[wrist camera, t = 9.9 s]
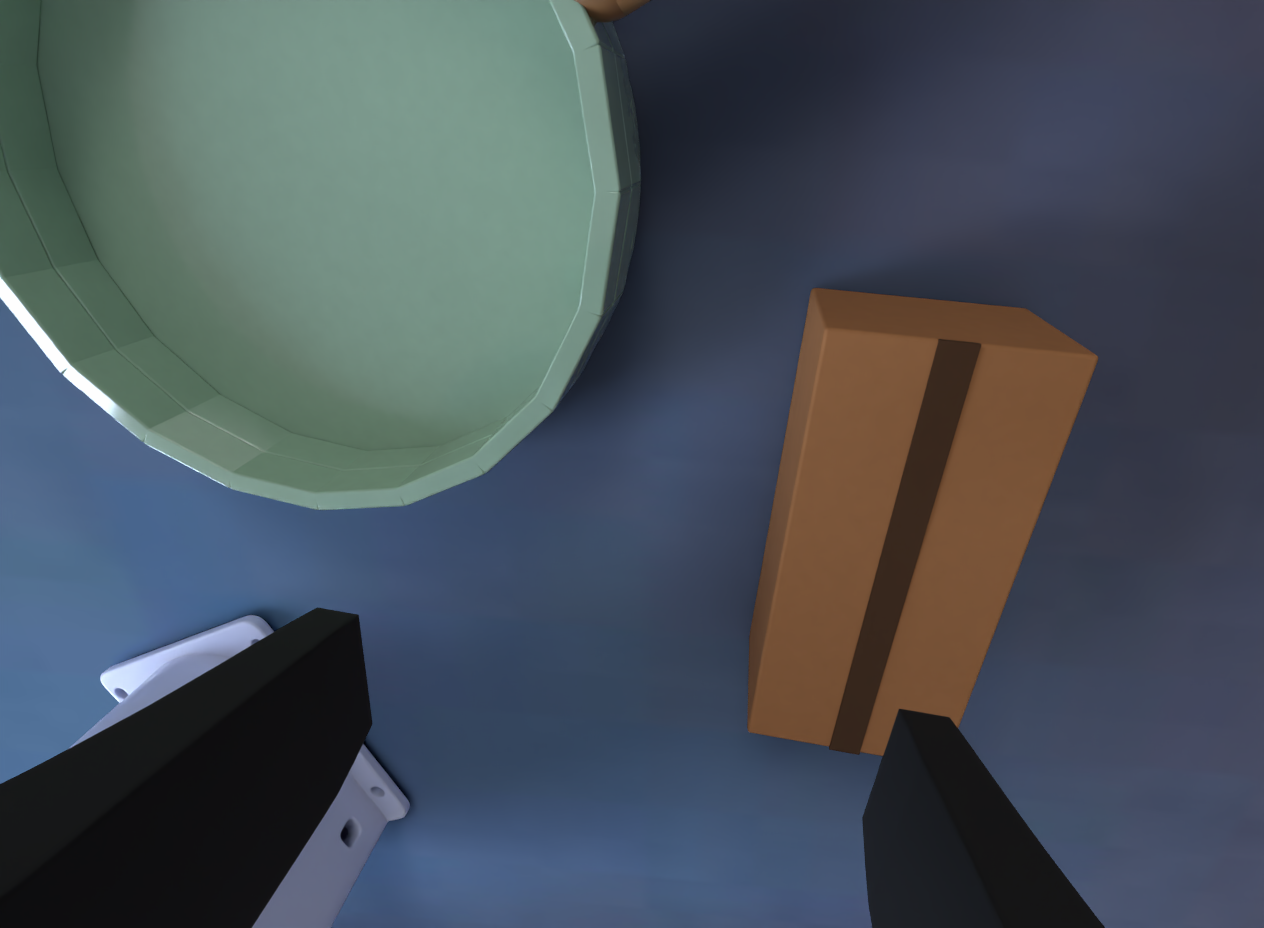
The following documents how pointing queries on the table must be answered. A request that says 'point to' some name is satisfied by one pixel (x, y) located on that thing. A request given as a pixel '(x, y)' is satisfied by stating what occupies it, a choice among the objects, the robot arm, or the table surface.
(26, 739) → the table surface
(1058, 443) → the taped cardboard box
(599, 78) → the pan
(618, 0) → the pan handle
